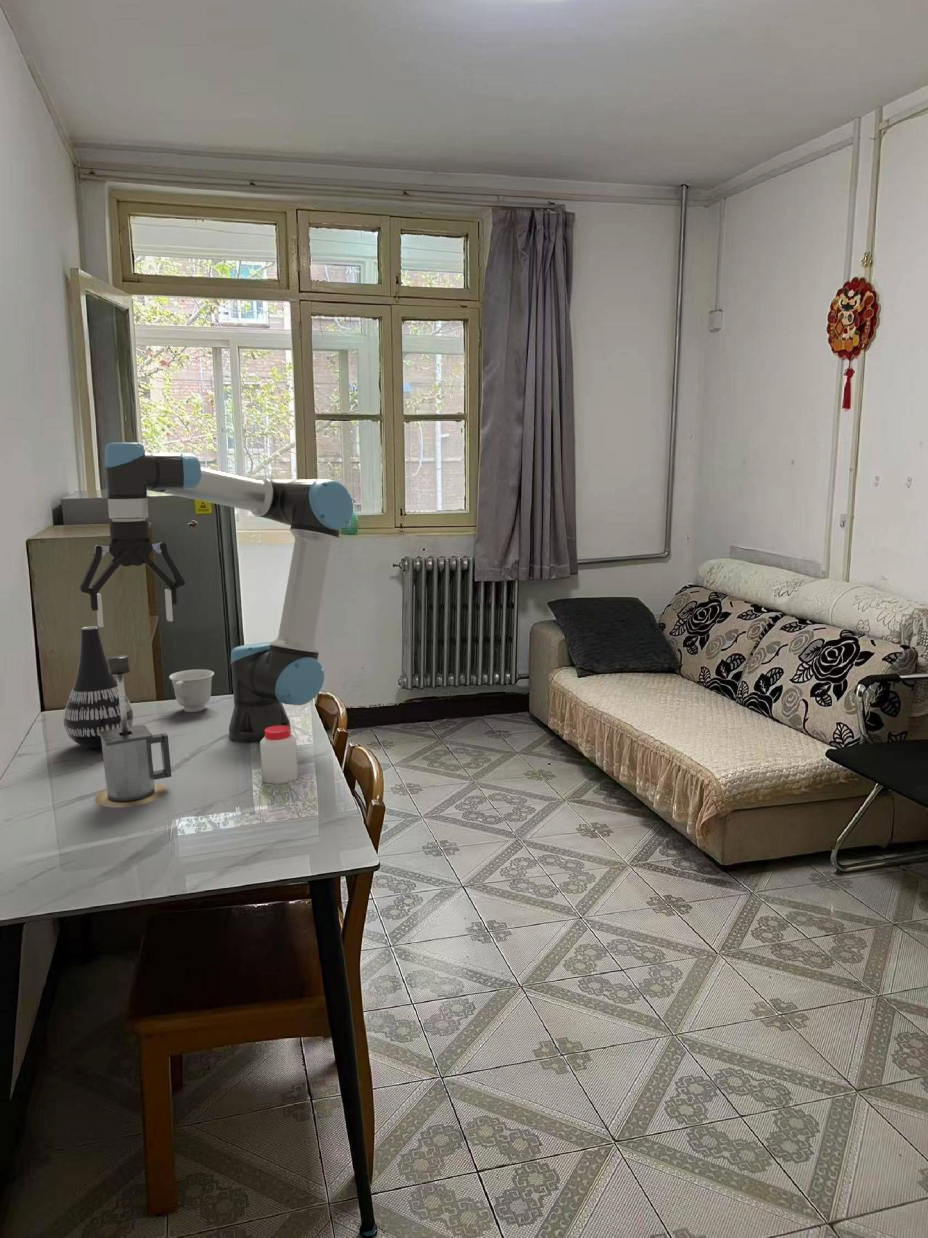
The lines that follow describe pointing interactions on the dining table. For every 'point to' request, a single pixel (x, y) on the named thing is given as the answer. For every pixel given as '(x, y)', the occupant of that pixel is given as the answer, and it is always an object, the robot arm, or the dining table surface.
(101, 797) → the ring
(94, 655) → the vase
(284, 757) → the pill bottle
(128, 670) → the plunger
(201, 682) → the teacup
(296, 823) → the dining table surface
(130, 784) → the french press
